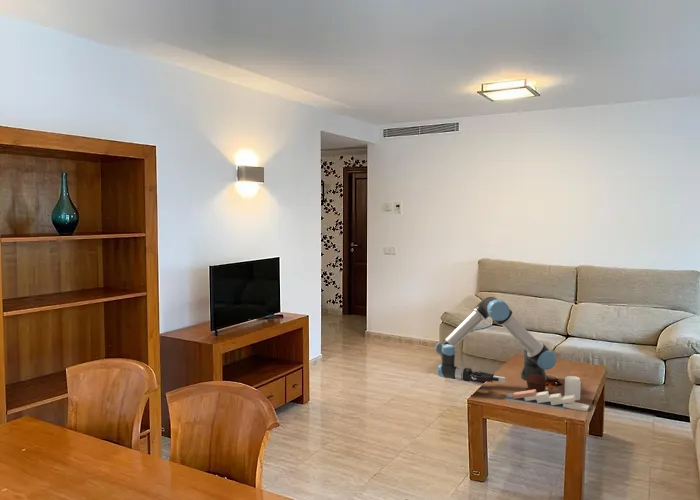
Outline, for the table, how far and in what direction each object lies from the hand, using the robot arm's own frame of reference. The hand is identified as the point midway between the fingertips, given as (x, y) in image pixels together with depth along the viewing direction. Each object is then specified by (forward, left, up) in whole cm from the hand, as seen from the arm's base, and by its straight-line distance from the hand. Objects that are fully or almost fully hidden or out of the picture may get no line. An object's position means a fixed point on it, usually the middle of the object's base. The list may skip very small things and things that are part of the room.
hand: (504, 380), depth 308 cm
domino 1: (0, +5, -8) cm, 10 cm away
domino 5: (0, +32, -8) cm, 33 cm away
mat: (0, +17, -10) cm, 20 cm away
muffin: (-18, +14, -10) cm, 25 cm away
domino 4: (0, +25, -8) cm, 27 cm away
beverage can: (-15, +34, -10) cm, 38 cm away
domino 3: (0, +18, -8) cm, 20 cm away
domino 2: (0, +12, -8) cm, 14 cm away
